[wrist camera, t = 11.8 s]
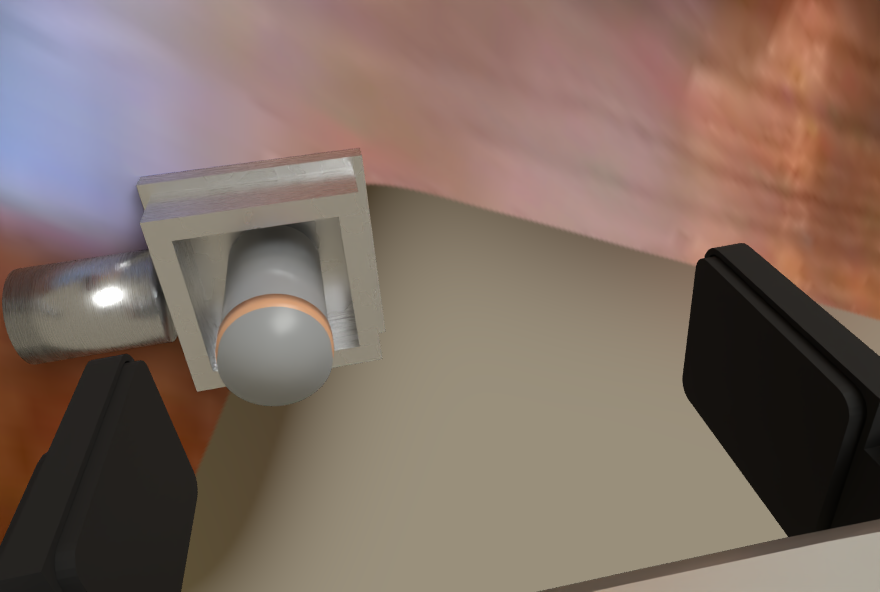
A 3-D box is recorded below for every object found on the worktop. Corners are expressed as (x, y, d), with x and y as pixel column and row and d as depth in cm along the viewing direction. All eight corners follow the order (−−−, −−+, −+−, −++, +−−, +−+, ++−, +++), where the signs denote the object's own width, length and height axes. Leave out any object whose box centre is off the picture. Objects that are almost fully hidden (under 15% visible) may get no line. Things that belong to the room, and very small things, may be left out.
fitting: (359, 147, 32) (369, 182, 28) (383, 321, 37) (394, 370, 34) (-1, 196, 30) (-41, 240, 26) (79, 372, 35) (56, 430, 31)
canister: (314, 216, 32) (326, 303, 25) (328, 297, 35) (342, 396, 28) (215, 229, 31) (201, 324, 25) (237, 311, 34) (228, 417, 27)
